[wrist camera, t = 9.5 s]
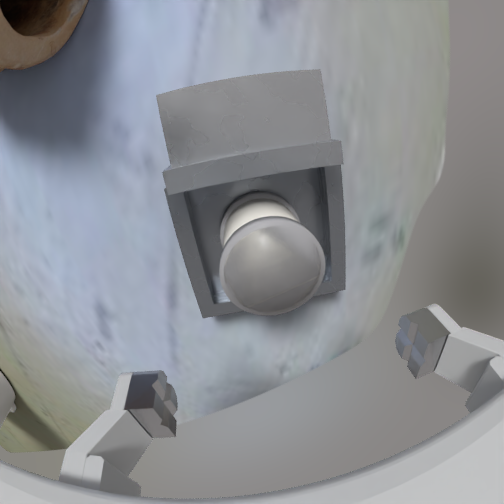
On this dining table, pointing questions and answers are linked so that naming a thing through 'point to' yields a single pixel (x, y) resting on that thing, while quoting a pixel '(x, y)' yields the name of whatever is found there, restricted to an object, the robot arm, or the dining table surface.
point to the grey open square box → (251, 168)
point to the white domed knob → (268, 256)
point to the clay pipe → (35, 30)
